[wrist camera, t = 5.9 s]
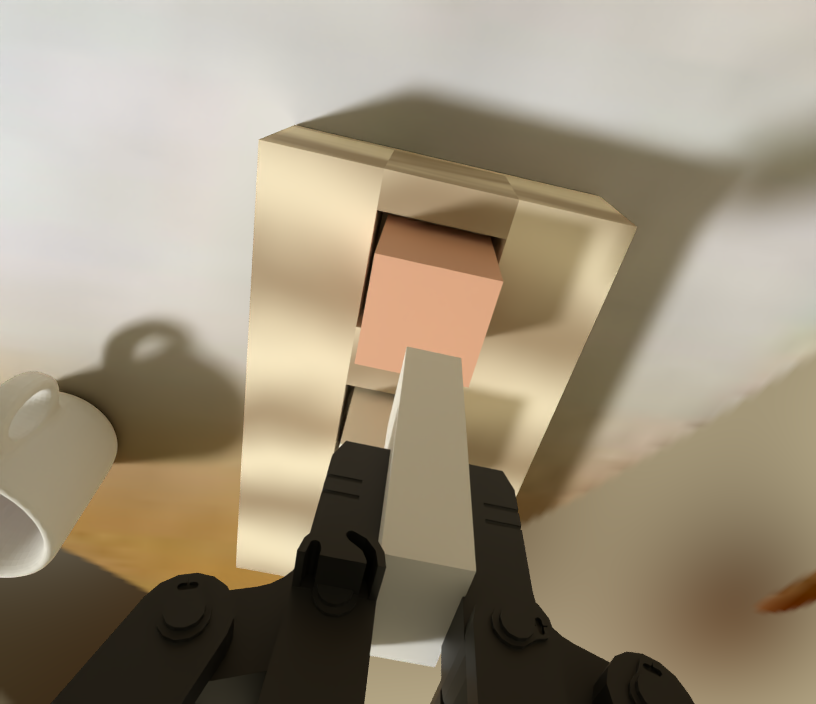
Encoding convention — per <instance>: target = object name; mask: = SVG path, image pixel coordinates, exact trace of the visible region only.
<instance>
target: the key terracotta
mask: <svg viewBox="0 0 816 704" xmlns="http://www.w3.org/2000/svg"><path fill="white" fill-rule="evenodd" d="M502 285H503V279H502V275H501V272H500V268H499V265H498V261H497V258H496V254H495V251H494V248H493V244H492V241H491V237H488V236H484V235H479V234H475V233H470V232H466V231H462V230H457V229H453V228H448V227H444V226H440V225H435V224H431V223H426V222H422V221H417V220H413V219H409V218H404V217H400V216H395V215H391V214H388V217H387V220H386V222H385V225H384V228H383V231H382V234H381V237H380V239H379V242H378V245H377V248H376V251H375V254H374V260H373V265H372V271H371V276H370V281H369V287H368V292H367V298H366V303H365V309H364V314H363V320H362V325H361V331H360V336H359V342H358V347H357V352H356V358H355V363H354V364H358V365H362V366H367V367H372V368H377V369H382V370H386V371H391V372H396V373H400V372H401V368H402V364H403V360H404V356H405V352H406V348H407V347H412V348H417V349H421V350H426V351H431V352H435V353H440V354H445V355H449V356H454V357H459V358H461V361H462V376H463V387H469V384H470V381H471V378H472V375H473V372H474V369H475V366H476V363H477V360H478V357H479V354H480V351H481V348H482V345H483V342H484V339H485V336H486V333H487V330H488V327H489V324H490V321H491V318H492V315H493V312H494V309H495V306H496V303H497V300H498V297H499V294H500V291H501V288H502Z"/></svg>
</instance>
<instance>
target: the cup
mask: <svg viewBox="0 0 816 704" xmlns="http://www.w3.org/2000/svg"><path fill="white" fill-rule="evenodd" d="M117 446H118V443H117V437H116V434H115V431H114V429H113V427H112V425H111V423H110V422H109V420H108V419H107V418H106V417H105V415H104V414H103V413H102V412H100V411H99V410H98V409H97V408H96V407H94V406H93V405H92V404H90V403H88V402H87V401H85V400H83V399H81V398H79V397H76V396H74V395H71V394H67V393H64V392H59V386H58V383H57V381H56V380H55V379H54V378H53V377H51V376H49V375H46V374H44V373H41V372H34V371H29V372H25V373H21V374H19V375H17V376H14V377H13V378H11V379H9V380H7V381H6V382H4V383H3V384H2V385H0V577H3V578H4V577H5V578H8V577H20V576H26V575H29V574H32V573H35V572H37V571H39V570H41V569H42V568H44V567H45V566H46V565H47V564H48V563H49V562H51V560H52V559H53V558H54V557H55V555H56V554H57V552H58V551H59V549H60V547H61V546H62V544H63V543H64V541H65V540H66V538H67V536H68V535H69V533H70V532H71V530H72V529H73V527H74V526H75V524H76V522H77V521H78V519H79V518H80V516H81V515H82V513H83V511H84V510H85V508H86V507H87V505H88V504H89V502H90V500H91V499H92V497H93V496H94V494H95V493H96V491H97V490H98V488H99V486H100V485H101V483H102V482H103V480H104V479H105V477H106V475H107V474H108V472H109V470H110V469H111V467H112V465H113V462H114V460H115V457H116V454H117Z"/></svg>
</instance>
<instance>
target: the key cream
mask: <svg viewBox="0 0 816 704" xmlns="http://www.w3.org/2000/svg"><path fill="white" fill-rule="evenodd" d="M394 397H395V394H390V393H386V392H381V391H376V390H371V389H366V388H361V387H356V386H355V388H354V392H353V396H352V400H351V403H350V407H349V411H348V415H347V418H346V422H345V426H344V430H343V433H342V437H341V441H340V445H339V447H340V446H341V445H342V444H343V443H344V442H345V441H350V442H355V443H360V444H365V445H370V446H375V447H380V448H384V447H385V440H386V434H387V427H388V422H389V418H390V414H391V410H392V406H393V402H394Z"/></svg>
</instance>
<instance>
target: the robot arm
mask: <svg viewBox="0 0 816 704" xmlns="http://www.w3.org/2000/svg"><path fill="white" fill-rule="evenodd" d="M440 654H441V664H442V665H441V676H442V677H441V681H440V684H439V686H438V688H437V690H436V692H435V695H434V697H433V699H432V701H431V703H430V704H694V702H693V701H692V699H691V697H690V695H689V694H688V692H687V691H686V690H685V688H684V687H683V686H682V685H681V683H680V682H679V681H678V679H677V678H676V676H674V675H673V674H672V673H671V672H670V671H669V670H667V669H666V668H665V667H664V666H663V665H662V664H661V663H659V662H657V661H655V660H653V659H652V658H650V657H648V656H645V655H644V654H640V653H633V652H625V653H622V654H620V655H617V656H615V657H614V658H613V660H612V661H611V662H608V661H606V660H604V659H602V658H600V657H598V656H596V655H594V654H592V653H590V652H588V651H587V650H585V649H583V648H581V647H579V646H577V645H575V644H573V643H572V642H570V641H569V640H567V639H565V638H564V637H562V636H561V635H560V634H559V633H558V632H557V631H555V630H554V629H553V628H552V625H551V623H550V620H549V618H548V617H547V615H546V614H545V613H544V612H543V610H542V609H541V608H540V607H539V605H538V604H537V603H536V602H535V599H534V595H533V591H532V586H531V580H530V574H529V569H528V563H527V557H526V552H525V546H524V540H523V534H522V530H521V523H520V517H519V513H518V506H517V500H516V495H515V490H514V488H513V486H512V485H511V483H510V482H509V480H508V479H507V477H506V475H505V474H504V472H503V471H501V470H496V469H491V468H486V467H481V466H476V465H471V464H469V462H468V447H467V433H466V419H465V404H464V390H463V376H462V361H461V358H459V357H454V356H449V355H445V354H440V353H435V352H431V351H426V350H421V349H417V348H412V347H407V348H406V352H405V356H404V360H403V364H402V368H401V372H400V377H399V381H398V385H397V389H396V393H395V397H394V402H393V406H392V410H391V414H390V418H389V422H388V427H387V434H386V440H385V447H384V448H380V447H375V446H370V445H365V444H360V443H355V442H350V441H345V442H344V443H343V444H342V445H341V446H340V447H339V448H338V449H337V450H336V451H335V452H334V453H333V454H332V457H331V461H330V464H329V468H328V471H327V475H326V478H325V482H324V485H323V489H322V492H321V496H320V499H319V503H318V506H317V510H316V513H315V517H314V520H313V524H312V527H311V531H310V533H309V534H308V535H306V536H305V537H304V539H303V541H302V542H301V544H300V546H299V548H298V549H297V553H296V560H295V567H294V569H293V570H292V571H291V572H290V573H288V574H287V575H286V576H285V577H283V578H281V579H279V580H277V581H275V582H273V583H271V584H267V585H263V586H258V587H252V588H244V589H236V590H229V589H228V587H227V586H226V585H225V584H224V583H222V582H221V581H220V580H218V579H217V578H215V577H214V576H209V575H205V574H200V573H192V574H184V575H178V576H176V577H173V578H171V579H169V580H166V581H164V582H162V583H160V584H159V585H158V586H156V587H155V588H154V589H153V590H152V591H150V592H149V593H148V594H147V595H146V596H144V598H143V599H142V600H141V601H140V602H139V603H138V604H137V606H136V607H135V608H134V609H133V610H132V611H131V612H130V614H129V615H128V616H127V617H126V618H125V619H124V621H123V622H122V623H121V624H120V625H119V626H118V627H117V629H116V630H115V631H114V632H113V633H112V634H111V635H110V636H109V638H108V639H107V640H106V641H105V642H104V643H103V644H102V646H101V647H100V648H99V649H98V650H97V651H96V652H95V654H94V655H93V656H92V657H91V658H90V659H89V660H88V662H87V663H86V664H85V665H84V666H83V667H82V668H81V670H80V671H79V672H78V673H77V674H76V675H75V676H74V678H73V679H72V680H71V681H70V682H69V683H68V684H67V686H66V687H65V688H64V689H63V690H62V691H61V692H60V694H59V695H58V696H57V697H56V698H55V700H53V702H52V703H51V704H364V701H365V692H366V684H367V675H368V667H369V658H370V656H375V657H381V658H386V659H392V660H398V661H403V662H409V663H415V664H420V665H425V666H431V667H435V666H436V663H437V661H438V659H439V656H440Z"/></svg>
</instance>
